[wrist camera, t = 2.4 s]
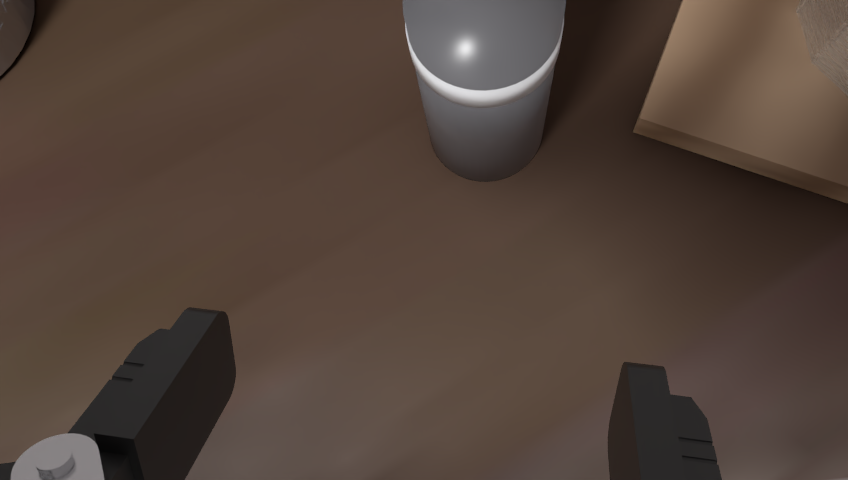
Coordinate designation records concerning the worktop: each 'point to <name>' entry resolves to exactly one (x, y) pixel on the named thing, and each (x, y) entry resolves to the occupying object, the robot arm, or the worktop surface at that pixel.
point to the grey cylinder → (484, 79)
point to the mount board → (749, 95)
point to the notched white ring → (827, 37)
